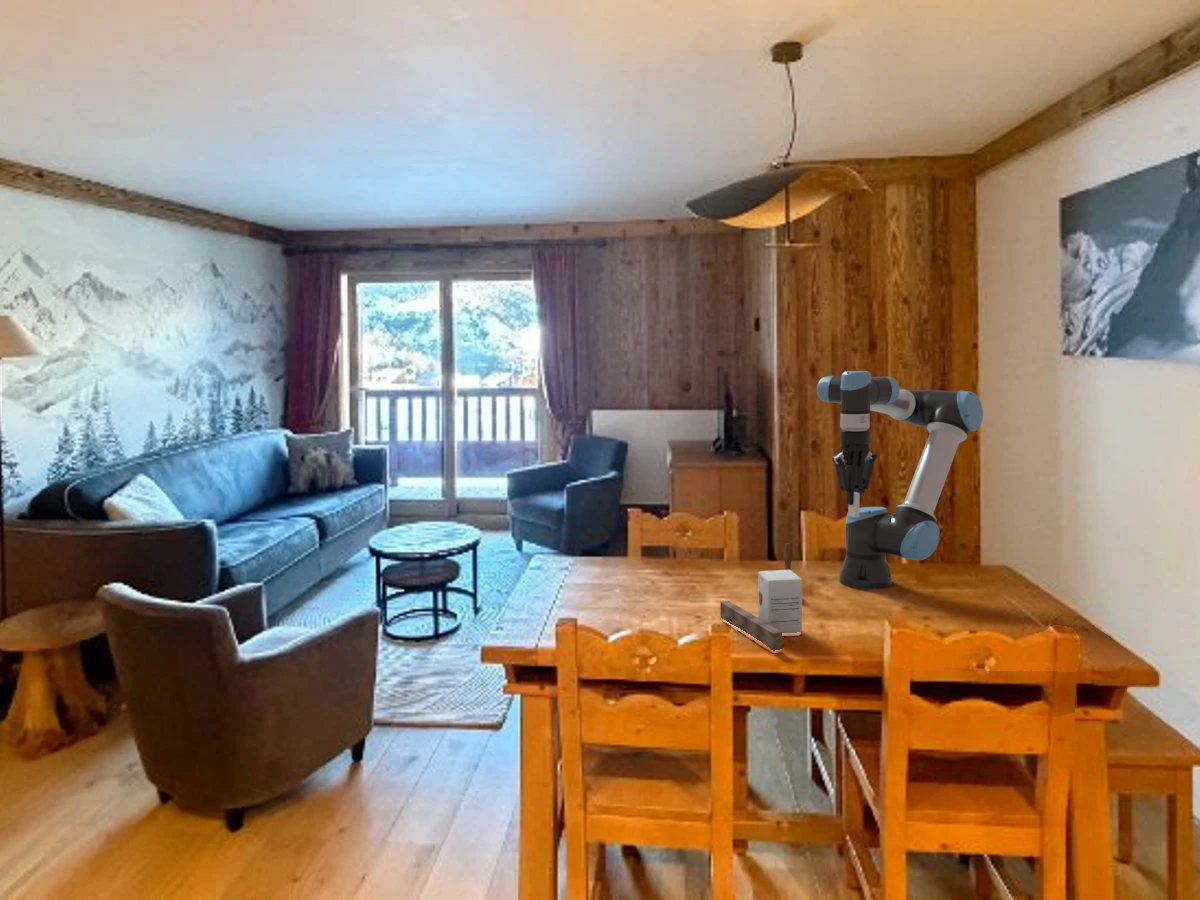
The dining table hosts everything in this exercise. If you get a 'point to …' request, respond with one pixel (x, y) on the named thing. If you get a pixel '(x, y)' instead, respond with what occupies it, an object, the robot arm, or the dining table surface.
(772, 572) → the supplement box
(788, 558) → the hand bell
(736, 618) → the board
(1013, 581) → the dining table surface
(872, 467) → the robot arm
